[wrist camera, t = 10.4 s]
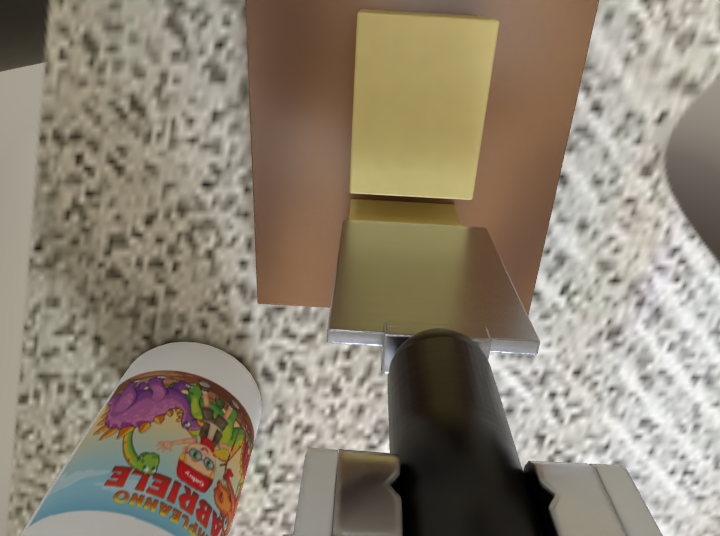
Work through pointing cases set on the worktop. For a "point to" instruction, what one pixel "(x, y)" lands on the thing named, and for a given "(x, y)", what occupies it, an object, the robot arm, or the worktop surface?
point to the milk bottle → (160, 451)
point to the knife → (440, 368)
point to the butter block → (419, 102)
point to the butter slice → (404, 212)
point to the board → (334, 133)
